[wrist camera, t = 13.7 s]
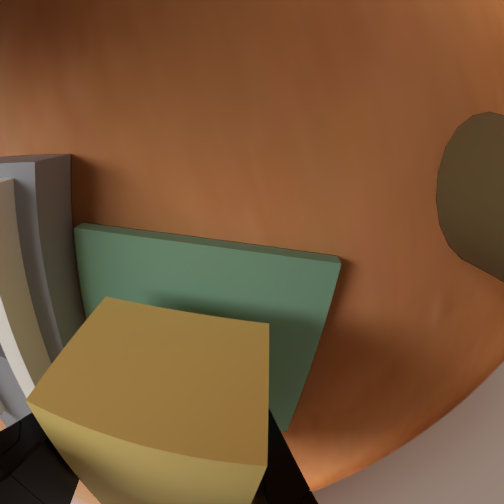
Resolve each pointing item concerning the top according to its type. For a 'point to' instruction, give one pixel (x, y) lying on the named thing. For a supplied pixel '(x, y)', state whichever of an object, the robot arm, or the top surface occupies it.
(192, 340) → the brick
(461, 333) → the top surface
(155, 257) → the felt mat
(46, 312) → the channel deck
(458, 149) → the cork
